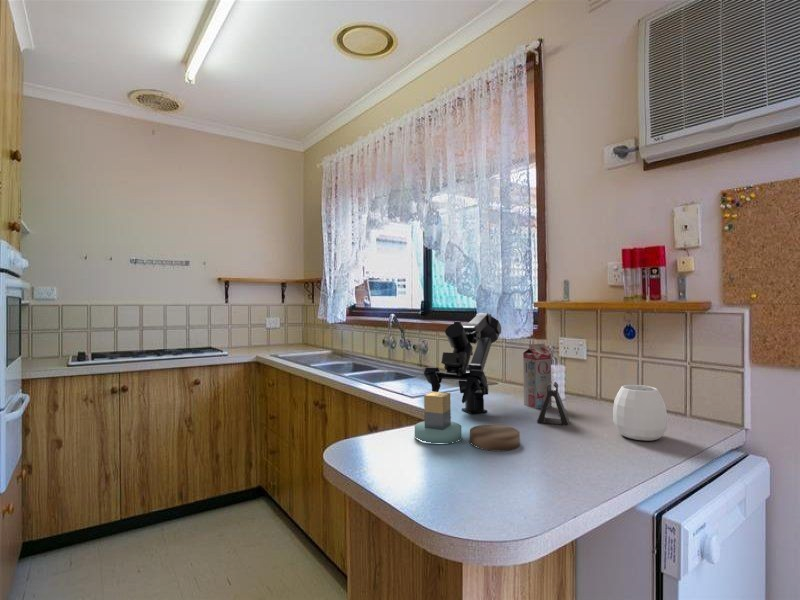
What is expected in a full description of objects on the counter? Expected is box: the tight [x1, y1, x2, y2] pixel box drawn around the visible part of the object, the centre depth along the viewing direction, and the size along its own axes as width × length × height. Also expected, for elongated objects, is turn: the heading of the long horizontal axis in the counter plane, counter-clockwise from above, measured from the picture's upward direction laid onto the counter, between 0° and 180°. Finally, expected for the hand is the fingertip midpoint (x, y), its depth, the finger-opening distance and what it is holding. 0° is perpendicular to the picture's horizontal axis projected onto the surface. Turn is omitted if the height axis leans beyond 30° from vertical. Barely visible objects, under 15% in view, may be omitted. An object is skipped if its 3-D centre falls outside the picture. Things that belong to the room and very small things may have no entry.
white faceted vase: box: [612, 384, 668, 441], centre depth 123 cm, size 13×13×14 cm
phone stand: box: [536, 380, 570, 427], centre depth 139 cm, size 9×6×12 cm, turn 68°
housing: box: [423, 390, 452, 430], centre depth 125 cm, size 6×6×9 cm
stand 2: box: [469, 424, 521, 452], centre depth 120 cm, size 13×13×3 cm
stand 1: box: [414, 420, 463, 444], centre depth 125 cm, size 13×13×3 cm
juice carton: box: [522, 342, 553, 410], centre depth 159 cm, size 7×7×22 cm
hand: (447, 400), depth 132 cm, fingers open, 9 cm apart
